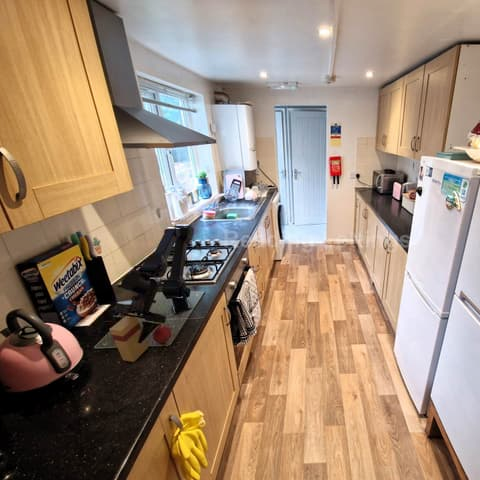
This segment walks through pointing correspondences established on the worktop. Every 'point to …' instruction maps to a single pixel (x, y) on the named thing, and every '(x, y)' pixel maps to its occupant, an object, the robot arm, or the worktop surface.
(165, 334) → the onion
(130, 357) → the box
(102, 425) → the worktop surface
